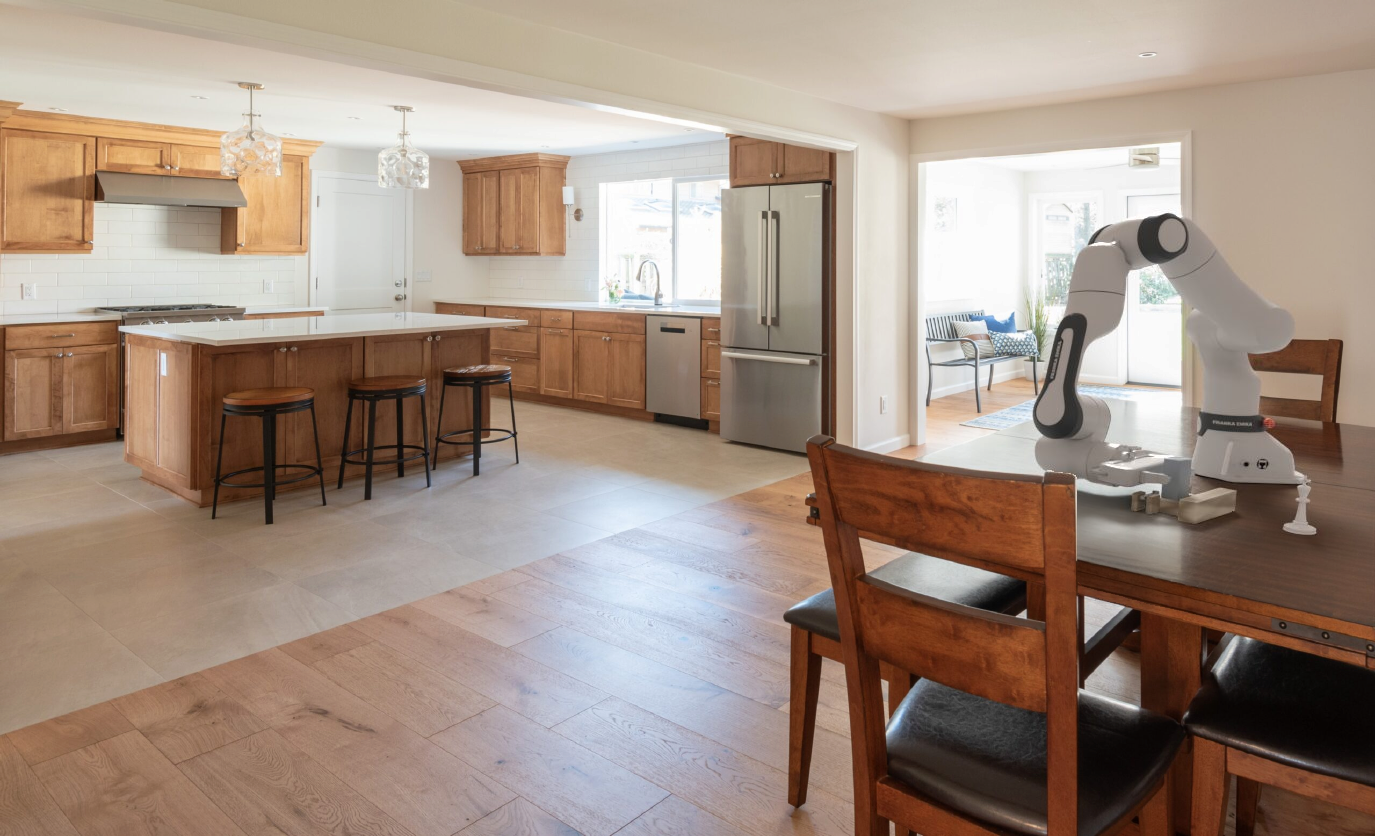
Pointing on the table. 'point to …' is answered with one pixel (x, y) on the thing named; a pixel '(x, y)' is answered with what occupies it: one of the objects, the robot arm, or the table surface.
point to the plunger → (1148, 495)
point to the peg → (1177, 478)
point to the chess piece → (1301, 512)
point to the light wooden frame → (1189, 505)
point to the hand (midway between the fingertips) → (1181, 476)
